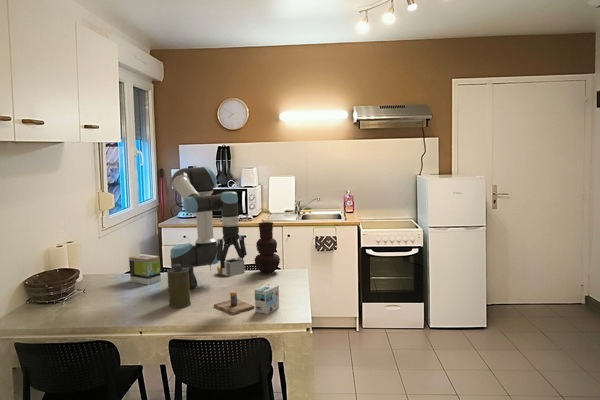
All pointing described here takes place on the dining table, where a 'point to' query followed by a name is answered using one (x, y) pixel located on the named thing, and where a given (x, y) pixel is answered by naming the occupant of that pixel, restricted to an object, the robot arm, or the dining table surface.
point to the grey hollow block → (234, 267)
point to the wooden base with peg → (234, 305)
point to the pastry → (220, 270)
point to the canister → (179, 286)
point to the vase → (266, 249)
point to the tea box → (145, 269)
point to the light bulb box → (266, 298)
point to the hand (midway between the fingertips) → (232, 272)
